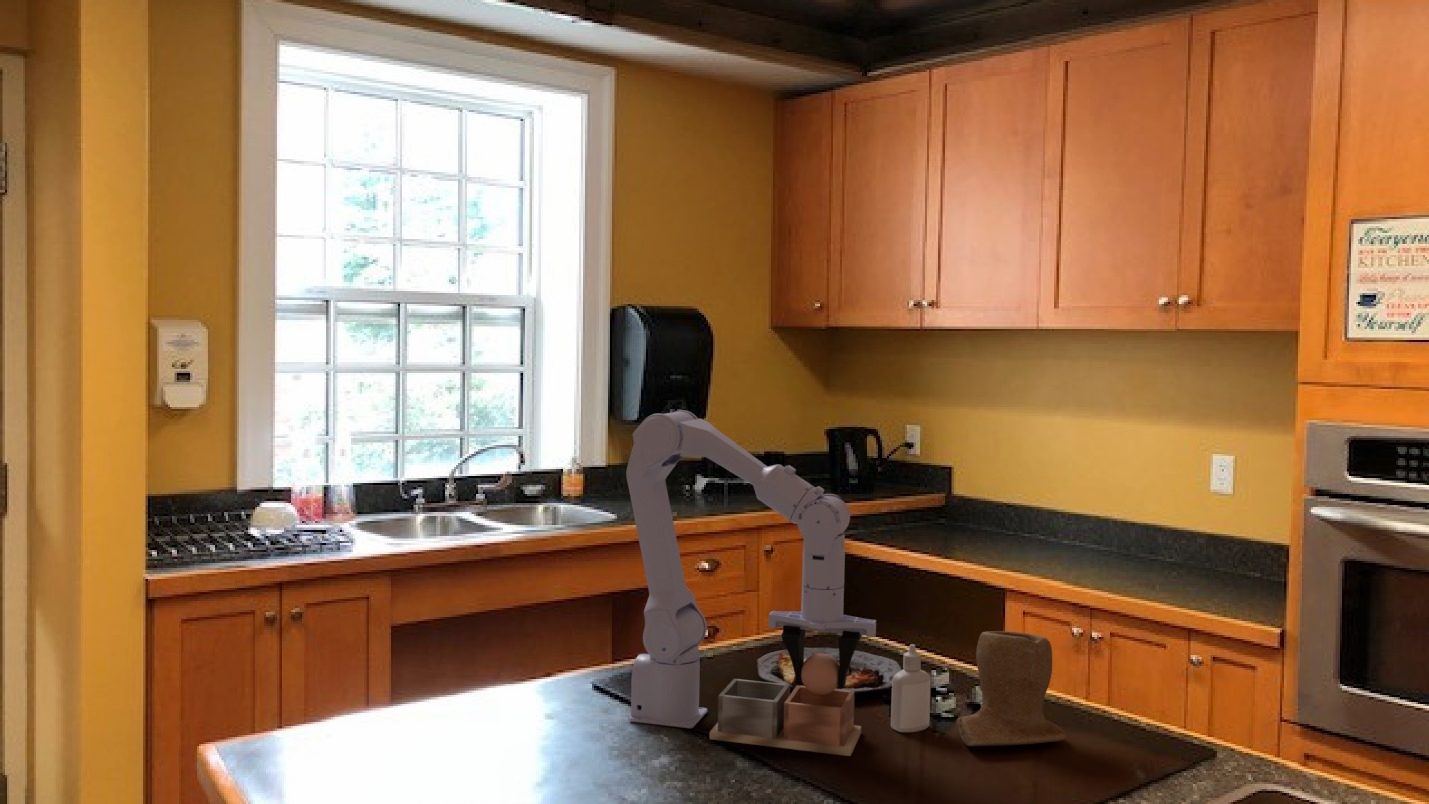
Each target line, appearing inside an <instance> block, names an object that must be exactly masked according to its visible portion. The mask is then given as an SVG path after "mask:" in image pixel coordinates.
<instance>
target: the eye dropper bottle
mask: <svg viewBox="0 0 1429 804" xmlns="http://www.w3.org/2000/svg"><path fill="white" fill-rule="evenodd" d="M916 648H917V647H916V644H913V643H911V644H909V648H908V651H907V652H904V653H903V657H902V658H903V660H902V661H903V662H902V663H903V664H902V666H903V667H902V668H903V669H901V671H899V672H898V673H897V674H895V675H894V677H893V680H892V688H891V700H890V701H891V702H890V703H891V704H890V708H891V709H890V710H891V711H890V727H891V728H892V730H895V731H896V732H899V733H917V732H921V731H923V730H926V729H927V728H928V727H929V726H930V721H931V720H930V715H931V714H930V713H931V711H930V710H931V676H930V674H929V673H928V672H926V671H925V670H922V669H921V664H922V662H921V661H922V655H921V653H918V652H917V650H916Z"/></svg>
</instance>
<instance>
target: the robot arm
mask: <svg viewBox="0 0 1429 804" xmlns="http://www.w3.org/2000/svg"><path fill="white" fill-rule="evenodd" d="M632 440H633V446H632V449H631V452H630V455H629V459H628V463H627V466H626V467H627V468H626V471H625V472H626V473H625V474H626V475H625V476H626V481H627V487H628V491H629V495H630V496H629V497H630V501H631V506H632V512H633V517H634V521H635V528H636V533H637V537H638V542H639V548H640V553H641V558H642V563H643V568H644V573H645V578H646V582H647V583H646V585H647V588H648V594H649V596H648V597H647V602H646V604H645V607H644V610H643V615H644V628H643V633H642V643H643V647H644V649H645V650H646V652H647V653H639V654H638V655H637V657H636V658H635V659H634V662H633V665H632V670H631V685H630V687H631V689H630V692H631V693H630V694H631V697H630V698H631V699H630V702H631V703H630V716H629V718H628V720H629V722H632V723H634V722H635V723H641V724H650V725H659V726H665V727H666V726H667V727H675V728H683V729H684V728H685V729H693V728H694V727H695V726H696V725H697V724H698V723H699V722H700V720H701V719H702V718H703V717H704V716H705V715H706V714H707V712H708V708H707V707H699V706H700V670H701V669H700V667H701V666H700V661H701V653H700V649H699V647H700V646H699V644H700V643H701V642H702V641H703V640H704V639H705V637H706V634H707V630H708V628H707V626H708V624H707V621H706V620H707V619H706V617H705V615H704V614H703V613H702V611H701V610H700V608H699V607H698V604H697V600H696V596H695V595H694V593H693V592H692V590H690V589H689V587H688V586H687V584H686V580H685V575H684V570H683V563H682V559H681V554H680V549H679V542H678V540H677V534H676V529H675V524H674V519H673V513H672V508H671V504H670V500H669V499H670V498H669V494H668V488H667V483H666V480H667V477H668V476H669V475H670V473H671V472H672V471H673V469H674V468H675V467H676V465H677V463H679V461H681V460H682V459H684V458H691V457H692V458H696V457H697V458H698V457H700V458H702V457H703V458H706V459H709V460H710V461H712V462H714V463H715V464H717V465H719V466H721V468H724V469H725V470H727V471H728V472H730V473H732V474H734V475H735V476H737V477H738V478H740V479H742V480H744V481H745V482H747V484H750V485H751V486H753V489H754V492H755V497H756V498H757V500H758V501H760V502H761V503H763V504H764V505H766V507H768V508H770V509H772V510H773V511H775V512H776V513H778V514H779V515H781V516H782V517H783V518H785V519H787V520H788V521H790V522H791V523H792V524H795V525H797V528H798V530H799V533H800V535H801V536H802V537H803V549H802V566H801V567H802V568H801V569H802V571H801V572H802V574H801V576H802V577H801V603H800V604H801V606H800V608H801V610H800V611H779V610H778V611H776V610H772V611H770V612H769V614H768V628H769V629H776V628H782V632H781V640H782V642H783V645H784V646H785V648H786V650H788V653H789V655H790V658H791V661H792V664H793V668H794V673H795V679H796V683H801V682H802V679H801V668H802V665H803V663H804V648H805V642H806V631H813V632H825V633H835V634H836V633H837V634H841V635H840V637H839V638H838V648H839V675H838V687H839V688H843V687H844V686H845V684H846V677H847V672H848V668H849V665H850V662H851V659H852V656H853V654H854V651H855V650H856V649H857V646H858V644H859V643H860V640H861V639H862V636H865V637H867V638H875V636H876V634H877V620H876V619H868V618H862V617H858V616H852V615H847V614H844V599H845V598H844V596H845V594H844V593H845V565H846V563H845V560H846V552H845V537H846V536H845V535H846V534H845V533H844V532H845V531H846V530H847V528H848V526H850V525H849V524H850V521H851V513H850V509H849V507H848V505H847V503H846V502H845V501H844V500H842V499H841V497H840V496H839V495H838V494H834V493H825V494H824V492H825V489H824V488H823V487H821V486H819V485H818V486H816V487H815V486H814V485H812V484H811V483H809V482H808V481H806V480H805V479H804V478H801V477H800V476H799V475H797V474H796V472H797V469H796V468H794V467H793V466H791V465H790V464H789V465H785V466H783V465H782V464H773V465H769V466H767V465H766V464H764V462H762V461H761V460H759V459H758V458H756V456H755V455H754V456H753V455H752V454H751V453H750V452H748V451H747V450H745V449H744V448H743V447H742V446H740V445H738V444H737V443H736V442H735V441H733V440H732V439H731V438H729V437H728V436H727V435H725V434H724V433H722V432H721V431H720V430H718V428H716V427H715V426H714V425H712V424H711V423H710V422H709V421H707V420H705V419H703V418H698V416H697V415H695V414H694V413H692V412H691V411H689V410H683V409H679V410H675V411H673V412H668V413H653V414H651V415H649V416H647V417H645V418H644V419H643V421H642V422H641V423H640V424H639V426H638V427H637V428H636V429H635V430H634V431H633V432H632ZM849 669H850V668H849Z"/></svg>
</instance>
